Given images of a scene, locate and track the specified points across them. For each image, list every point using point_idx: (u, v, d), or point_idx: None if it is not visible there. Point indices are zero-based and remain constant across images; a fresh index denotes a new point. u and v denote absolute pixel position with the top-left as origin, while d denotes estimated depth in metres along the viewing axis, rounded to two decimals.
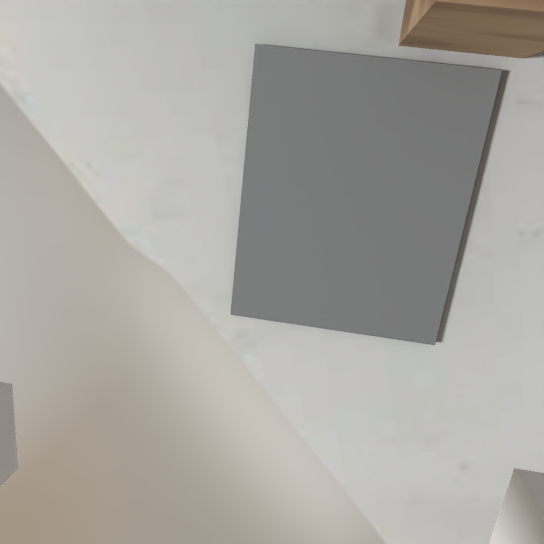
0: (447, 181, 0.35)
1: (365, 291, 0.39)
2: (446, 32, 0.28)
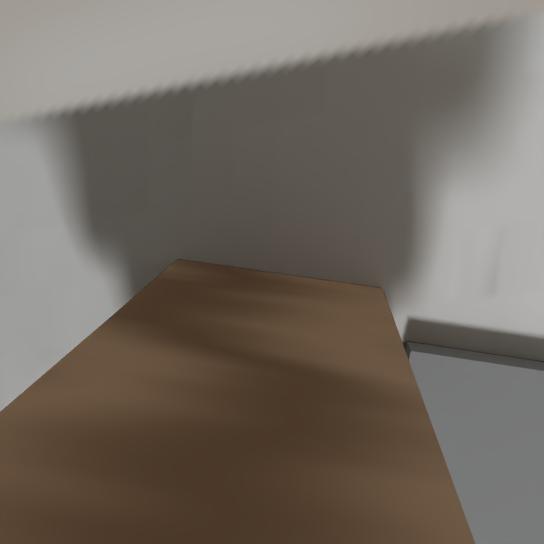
0: None
1: None
2: None
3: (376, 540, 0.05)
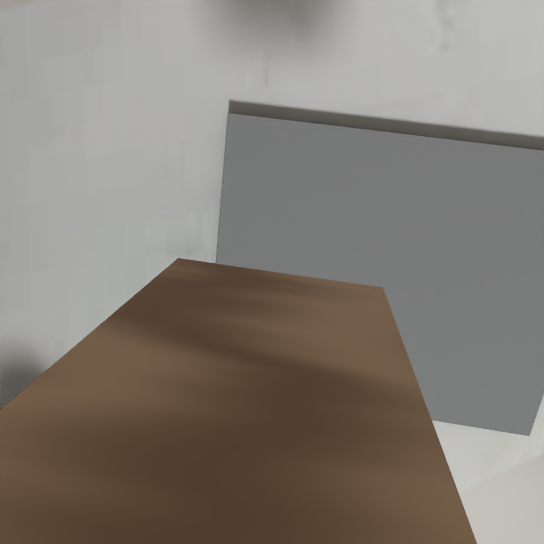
0: (363, 166, 0.27)
1: (516, 265, 0.27)
2: None
3: (377, 538, 0.05)
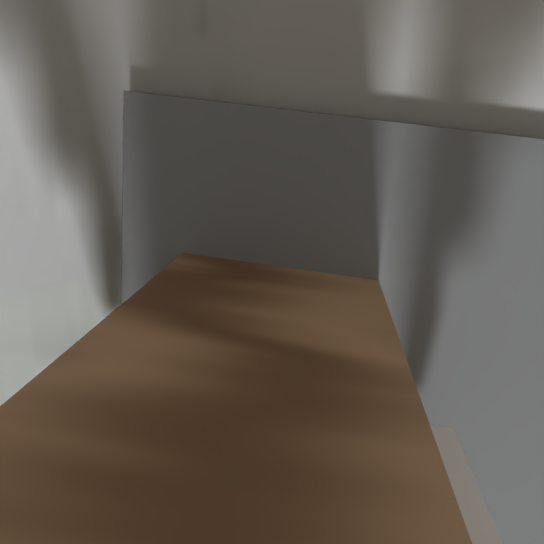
0: (402, 199, 0.13)
1: None
2: None
3: (366, 492, 0.05)
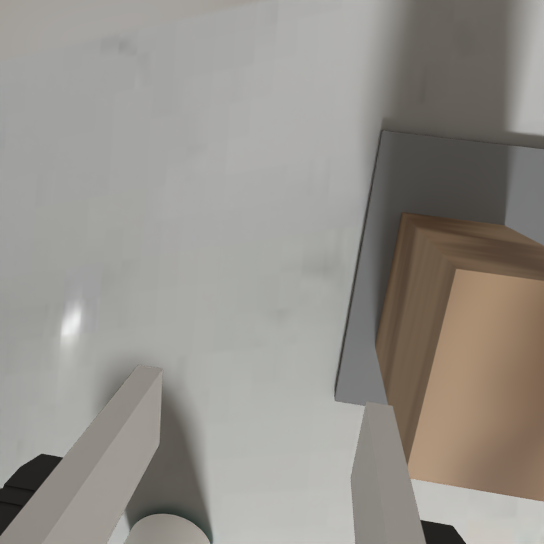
0: (520, 184, 0.26)
1: None
2: None
3: None
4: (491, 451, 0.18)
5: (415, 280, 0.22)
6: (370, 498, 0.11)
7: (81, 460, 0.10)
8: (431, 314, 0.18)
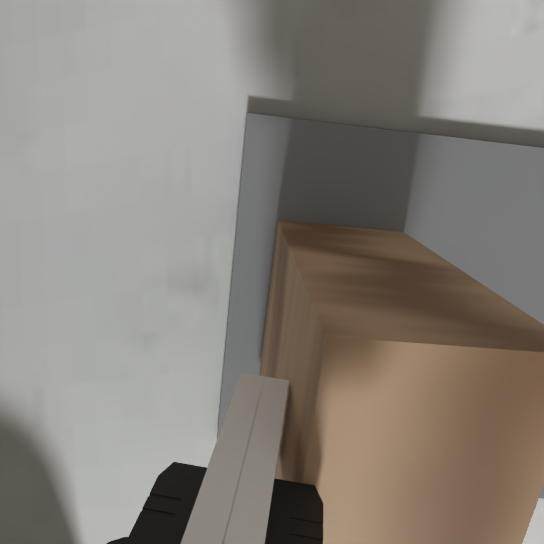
0: (419, 180, 0.21)
1: None
2: None
3: (472, 297, 0.13)
4: None
5: (287, 324, 0.15)
6: None
7: (225, 469, 0.10)
8: (301, 393, 0.12)
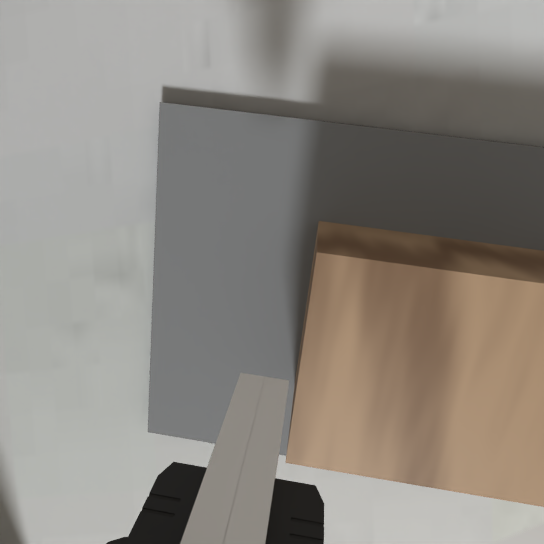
0: (331, 169, 0.21)
1: None
2: None
3: (515, 250, 0.20)
4: None
5: (496, 336, 0.16)
6: None
7: (225, 469, 0.10)
8: None
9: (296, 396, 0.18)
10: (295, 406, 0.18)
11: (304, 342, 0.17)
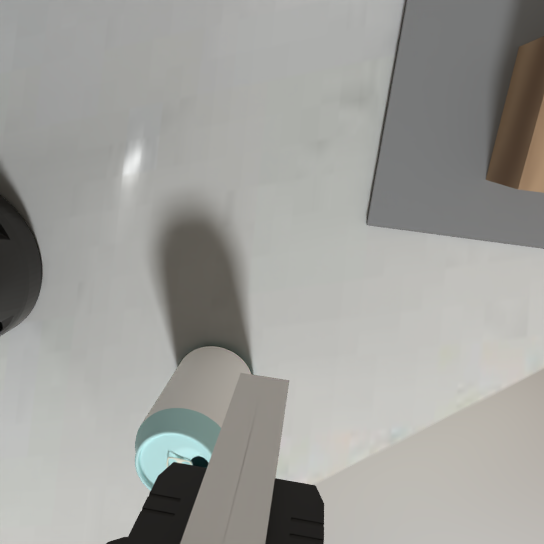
0: (532, 6, 0.30)
1: None
2: None
3: None
4: None
5: None
6: None
7: (225, 469, 0.10)
8: None
9: (533, 136, 0.27)
10: (531, 144, 0.27)
11: None
